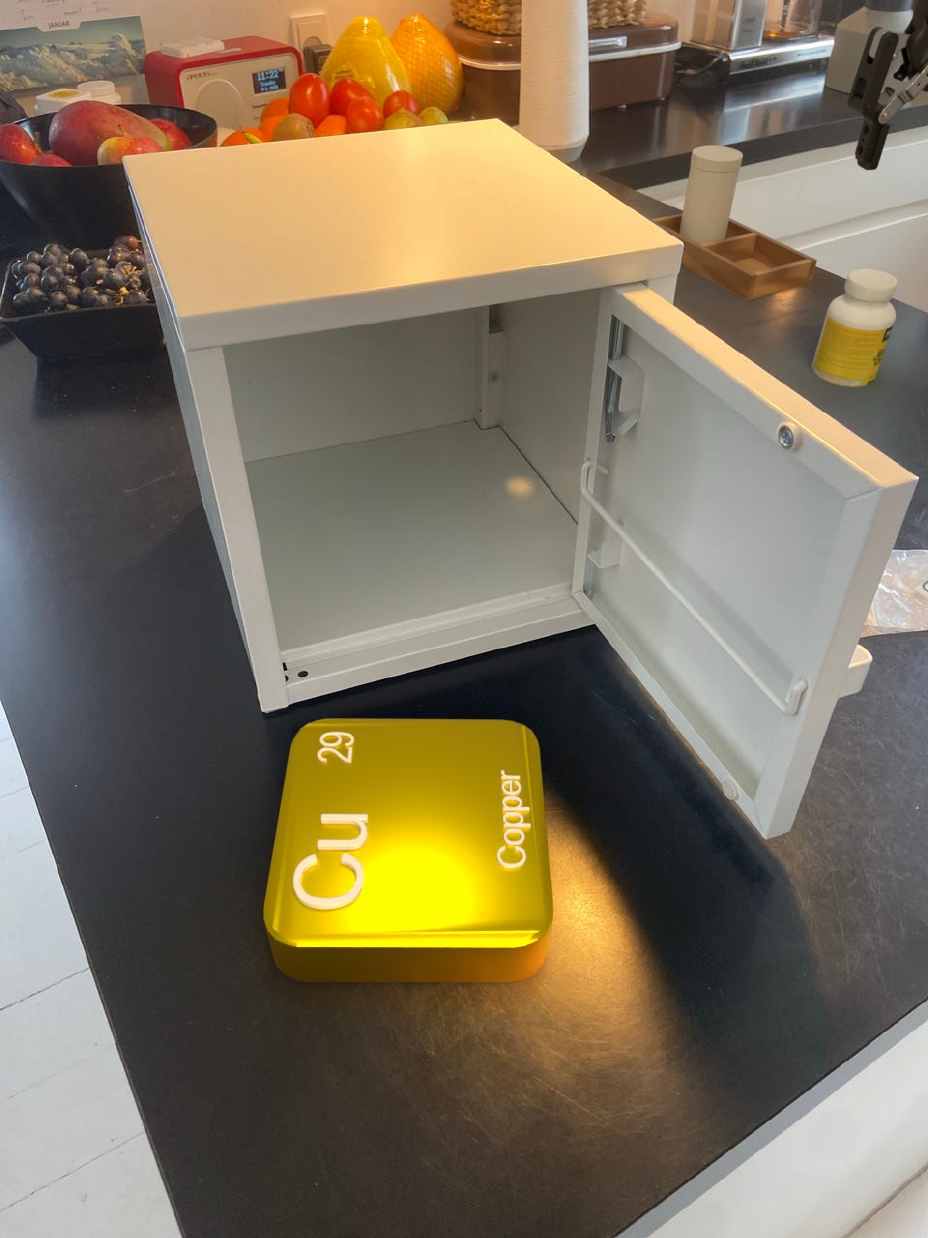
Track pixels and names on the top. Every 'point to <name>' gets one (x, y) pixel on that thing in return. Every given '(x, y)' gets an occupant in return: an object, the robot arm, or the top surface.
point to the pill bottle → (856, 329)
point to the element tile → (411, 853)
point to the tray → (744, 260)
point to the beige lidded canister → (710, 193)
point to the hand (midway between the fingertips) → (909, 165)
